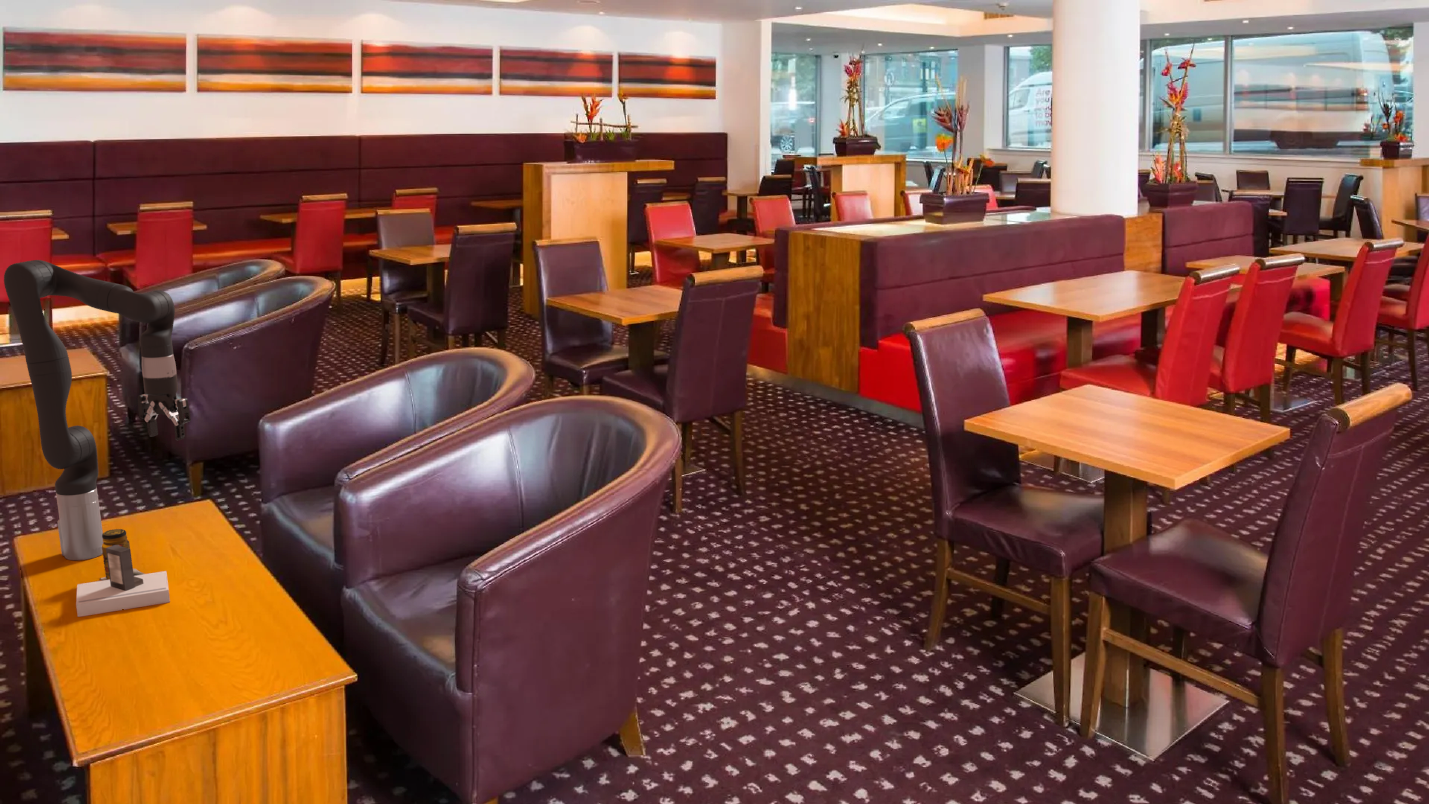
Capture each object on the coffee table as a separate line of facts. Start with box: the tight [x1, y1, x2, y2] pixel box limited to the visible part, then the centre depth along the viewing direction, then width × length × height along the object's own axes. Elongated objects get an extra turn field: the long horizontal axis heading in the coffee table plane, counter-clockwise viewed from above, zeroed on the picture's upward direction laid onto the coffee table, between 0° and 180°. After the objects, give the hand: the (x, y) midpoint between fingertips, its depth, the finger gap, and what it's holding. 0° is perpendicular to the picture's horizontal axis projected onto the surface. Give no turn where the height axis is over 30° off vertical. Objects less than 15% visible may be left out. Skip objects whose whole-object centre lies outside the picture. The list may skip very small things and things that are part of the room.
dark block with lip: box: [106, 545, 143, 591], centre depth 280 cm, size 6×5×10 cm
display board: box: [75, 570, 171, 618], centre depth 281 cm, size 19×13×3 cm
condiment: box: [99, 528, 145, 581], centre depth 293 cm, size 7×8×12 cm
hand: (166, 437), depth 297 cm, fingers open, 8 cm apart
